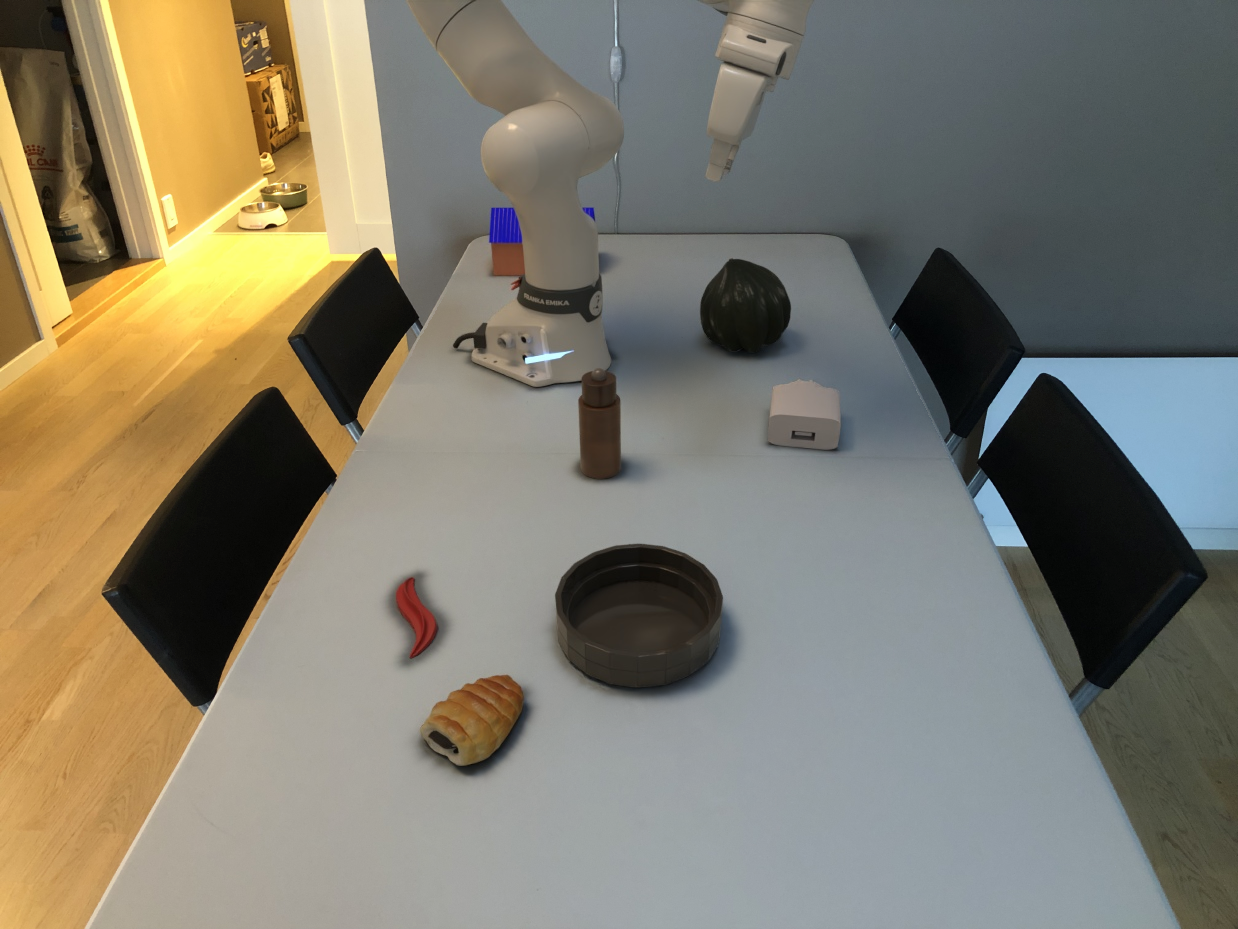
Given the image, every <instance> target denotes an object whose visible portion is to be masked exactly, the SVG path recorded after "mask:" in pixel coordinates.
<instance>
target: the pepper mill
mask: <svg viewBox="0 0 1238 929" xmlns="http://www.w3.org/2000/svg"><path fill="white" fill-rule="evenodd" d="M577 400H578V401H577V403H578V404H577V405H578V432H579V453H580V454H579V457H580V458H579V459H580V471H581V473H582V474H583V475H584V476H586V477H588V478H591V479H597V480H604V479H605V480H606V479H610V478H612V477H613V478H614V477H616V476H617V475H618V474H619V473H620V472H621V470H622V423H621V422H622V420H621V419H622V418H621V416H622V413H621V408H622V407H621V405H622V403H621V400H622V399H621V397H620V396H619V394H617V376H616V375H615V373H613V372H611V371H608V370H605V371H604V370H603V369H601V368H597V369H595V370H593V371H590V372H587V373H585V374H584V375H583V376H582V380H581V395H580V396H579V397H578V399H577Z"/></svg>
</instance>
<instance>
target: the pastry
mask: <svg viewBox="0 0 1238 929" xmlns="http://www.w3.org/2000/svg"><path fill="white" fill-rule="evenodd" d="M524 699H525V698H524V691H523V689H522V686H521V685H520V684H519V683H518V682H517V681H515V680H514V679H513V678H512V677H511V675H509V674H502V675H499V674H497V675H491V676H488V677H486V678H485V677H479V678H478V679H477V680H476V681H475V682H473V683H468V682H467V683H465V684H464V685H462V687H461V688H460V689H456V690H453V691H451V692H450V693H449V694H448V696H447V699H446V700H443V701H438V702H436V703H435V704H434V706H433V707H432V709H431V712H430V714H429V716H428V718H426V720H425V721H424V723H423V724H422V725H421V726H420V729H419V731H420V736H421V738H422V739H424V740H425V741H426V743H427V745H428V746H429V747H430V748H431V749H432V750H433V752H435V753H439V754H440V755H443V756H446V757H447V758H448V760H449V761H450V762H452V763H453V764H455V765H456V766H459V767H461V766H469V765H471V764H477V763H479V762H482V761H485V760H486V759H489V757H490V756H492V754H493V753H494V752H495V751H496V750H498V749H499V748H500V747H501V745H502V743H503V742H504V741H505V740H506V738H507V736H508V735H509V734H510V732H511V730H512V729H513V727H514V725H515V724H516V722H517V720H518V718H519V717H520V715H521V714H522V710H523V707H524V701H525V700H524Z"/></svg>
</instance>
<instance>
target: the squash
mask: <svg viewBox="0 0 1238 929" xmlns="http://www.w3.org/2000/svg"><path fill="white" fill-rule="evenodd" d="M791 311H792V304H791V300H790V297H789V294H788V292H787V290H786V287H785V285H784V284H783V281H781V279H780V278H779V277H778V276H777V275H776V274H775V272H773V271H771V270H770V269H768V268H767V267H765V266H763V265H759V264H757V263H755V262H751V261H749V260H746V259H741V258H733V257H732V258H729V259H728V260H727V261H726V262H725V263H724V264H723V266H722V267H721V269H720V270H719V271H718V272H717V273H716V275H715V276H714V277H713V278H712V279H711V280H710V281H709V283H708V284H707V285H706V287H705V289H704V291H703V293H702V295H701V299H700V305H699V317H700V324H701V328H702V331H703V333H704V335H705V337H706V338H707V339H708V340H709V341H710V342H711V343H713V344H715V345H718V346H720V347H724V348H725V349H726V350H728V351H729V352H732V353H734V352H735V353H737V352H739V351H741V350H744V351H745V352H747V353H748V354H753V353H754V354H755V353H757V352H759V351H760V350H761V349H762V348H763V346H771V345H774V344H776V343H777V342H778V341H779V340H780V338H781V336H782V335H783V334H784V332H785V331H786V330H787V328H788V326H789V324H790V320H791V313H792V312H791Z"/></svg>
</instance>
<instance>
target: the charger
mask: <svg viewBox="0 0 1238 929" xmlns="http://www.w3.org/2000/svg"><path fill="white" fill-rule="evenodd" d="M768 419H769V420H768V430H767V439H766V440H767V441H768V442H769V443H770V444H772V445H774V446H775V445H776V446H780V447H781V446H782V447H790V448H791V447H794V448H802V449H803V448H804V449H813V450H824V451H828V450H834V449H836V448H838V446H839V440H840V435H841V427H842V420H841V419H842V418H841V394H840V391H839V390H837V389H835V388H832V387H826V386H823V385H821V384H819V383H818V382H816V381H814V380H813V379H810V380H802V379H801V378H798V379H797V380H795V381H794V380H793V381H791V382H789V383H785V384H783V383H781V384H777V385H774V386H773V387H772V390H771V400H770V409H769V418H768Z"/></svg>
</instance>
